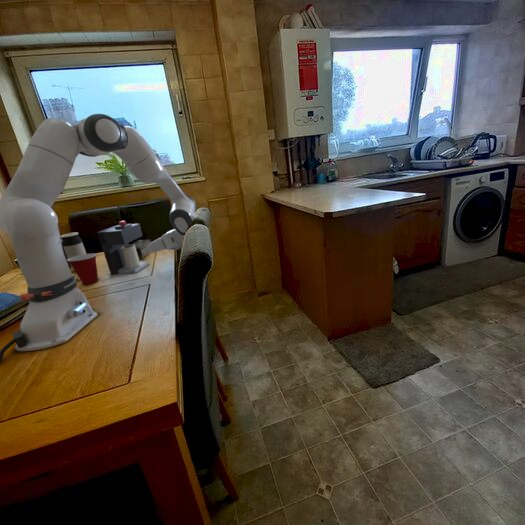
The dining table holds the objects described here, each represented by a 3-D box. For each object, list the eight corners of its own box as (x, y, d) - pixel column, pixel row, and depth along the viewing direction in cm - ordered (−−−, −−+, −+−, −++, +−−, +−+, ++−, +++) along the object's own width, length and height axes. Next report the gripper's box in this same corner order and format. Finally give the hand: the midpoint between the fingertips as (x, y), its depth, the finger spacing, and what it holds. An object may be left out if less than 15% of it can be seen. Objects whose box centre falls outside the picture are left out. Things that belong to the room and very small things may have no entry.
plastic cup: (109, 275, 126) (101, 250, 121) (94, 286, 115) (84, 259, 111) (88, 277, 127) (79, 252, 123) (70, 287, 117) (60, 261, 113)
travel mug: (82, 271, 136) (69, 236, 129) (68, 272, 137) (55, 237, 131) (94, 265, 143) (82, 231, 137) (81, 266, 144) (68, 232, 138)
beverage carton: (153, 248, 161) (150, 237, 159) (143, 259, 143) (139, 247, 141) (139, 250, 161) (136, 239, 158) (127, 261, 143) (123, 249, 140)
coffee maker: (133, 274, 124) (120, 228, 117) (110, 274, 127) (96, 230, 120) (150, 263, 136) (138, 221, 129) (129, 264, 139) (116, 222, 131)
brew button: (123, 225, 122) (122, 221, 122) (118, 225, 123) (117, 222, 122) (127, 224, 124) (126, 220, 124) (122, 224, 125) (121, 220, 124)
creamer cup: (137, 267, 128) (132, 247, 125) (124, 268, 128) (118, 249, 124) (141, 262, 134) (136, 243, 130) (129, 264, 133) (123, 245, 130)
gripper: (181, 231, 132) (155, 241, 133) (163, 234, 111) (132, 246, 113) (186, 243, 132) (160, 253, 134) (169, 249, 112) (139, 260, 114)
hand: (147, 250), depth 123 cm, fingers open, 8 cm apart
